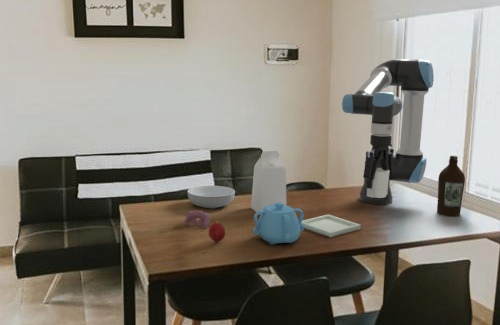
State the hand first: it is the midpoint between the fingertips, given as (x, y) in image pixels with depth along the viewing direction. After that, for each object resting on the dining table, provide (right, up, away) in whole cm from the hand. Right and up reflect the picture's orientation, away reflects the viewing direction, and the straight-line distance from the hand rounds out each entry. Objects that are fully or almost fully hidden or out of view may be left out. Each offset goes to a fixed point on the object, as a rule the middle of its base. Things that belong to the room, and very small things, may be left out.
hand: (377, 195), depth 203 cm
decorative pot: (-38, -16, -8) cm, 41 cm away
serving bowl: (-65, -7, +35) cm, 74 cm away
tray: (-17, -13, +7) cm, 23 cm away
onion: (-59, -16, -13) cm, 63 cm away
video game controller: (-68, -13, +6) cm, 70 cm away
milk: (-40, -9, +29) cm, 50 cm away
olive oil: (+38, -10, +31) cm, 50 cm away
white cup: (0, -1, 0) cm, 1 cm away
